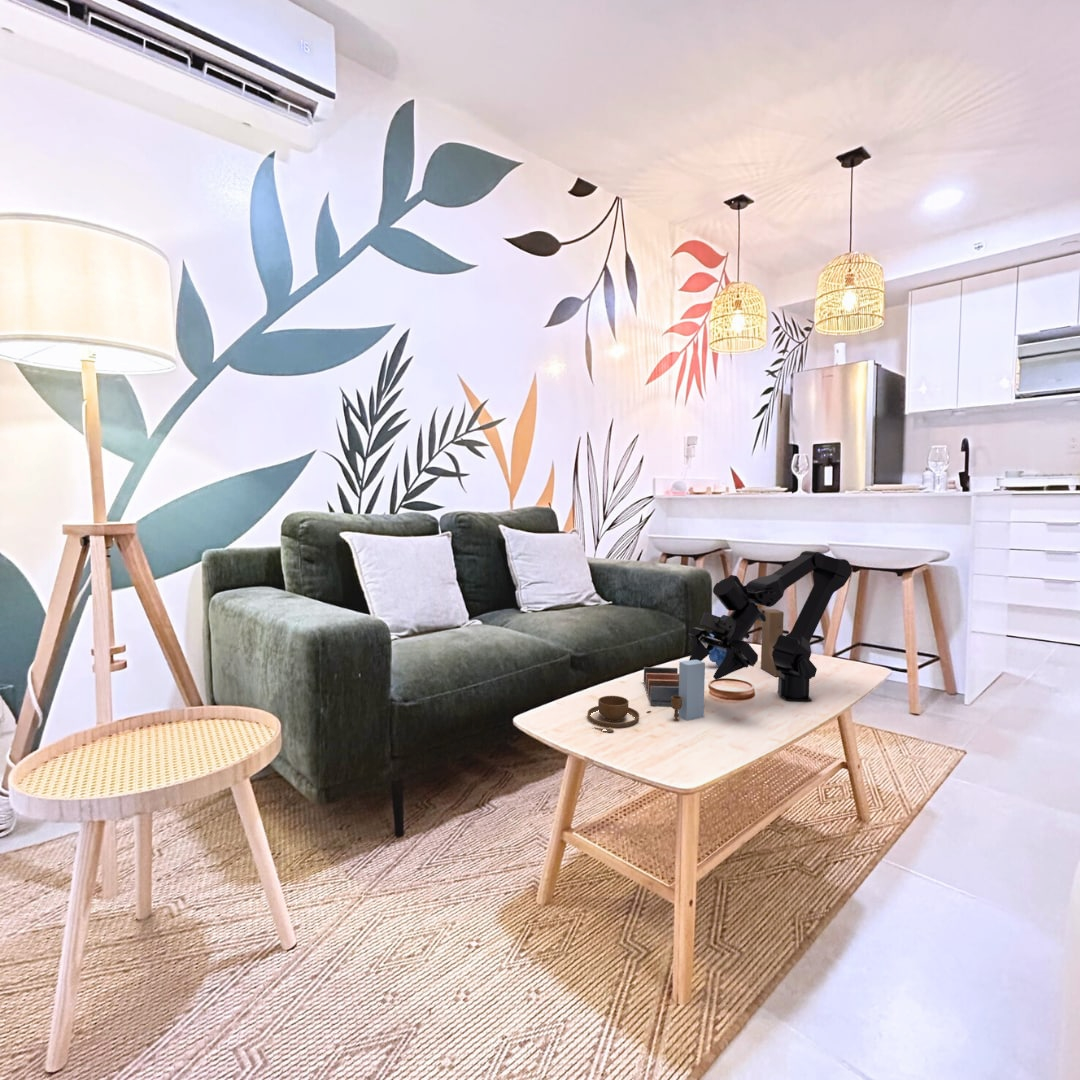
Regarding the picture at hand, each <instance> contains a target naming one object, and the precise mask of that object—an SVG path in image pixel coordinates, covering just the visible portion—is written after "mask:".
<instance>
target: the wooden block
mask: <svg viewBox="0 0 1080 1080" xmlns="http://www.w3.org/2000/svg"><path fill="white" fill-rule="evenodd" d="M763 610H764V611H765V617H766V621H765V622H763V621H761V647H760V651H761V653H760V654H761V655H760V669H761V670H764V671H765V672H767V673H769V674H770V675H772V676H774V677H775V678H779V677H781V671H777V670H776V668H775V664H774V661H773V657H772V652H773V650H774V649H773V648H772V647H773V646H774V645H775V644H776V642H777V639H778V637H779V636H780V635H784V613H785V612H784V611H781V610H779V609H776V608H773V609H771V608H769V609H763Z"/></svg>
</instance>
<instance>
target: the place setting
mask: <svg viewBox="0 0 1080 1080" xmlns="http://www.w3.org/2000/svg"><path fill="white" fill-rule="evenodd" d="M671 706H672V707H671V708H672V709H673V710H674V714H673V716H674V719H673V721H674V722H679V721H680V719H679V715H678V710H679V709H681V707H682V697H680V696H672V697H671ZM598 710H599V715H600V716H602V717H603V718H604V720H605V721H602V720H599V719H596V718H594V717H593V716H592V717H591V716H590V715H591V713H593V712H596V711H598ZM651 712H652V710H647V711H646V714H648V713H649V714H650V713H651ZM627 713H629V714H630V715H629V714H627ZM627 715H629V716H631V715H632V718H634V717H635V718H634V719H632V720H629V721H626V722H625V721H624V722H619V721H621V720H622V719H623V718H625V717H626V716H627ZM587 717H588V719H589V721H590V722H591V723H592V722H593V724H594V723H595V724H594V725H596V724H597V726H599V725H600V726H599V727H595V726H593V727H594V728H595V730H598V729H599V730H598V731H600V730H601V731H600V732H602V730H603V729H606V730H607V731H603V732H602V733H606V732H608V733H609V734H611V733H613V732H614V729H621V728H622V727H623V728H628V727H632V726H634V725H636V724H637V723H638V721H639V720H640V713H639V712H638V711H637V710H636V709H634V708H632V707H630V706H629V700H628V698H626V697H623V696H619V695H605V696H602V697H599V698H598V705H597V706H593V707H591V708H589V709H588V711H587ZM608 721H609V722H608ZM603 726H604V728H603ZM601 727H602V728H601ZM609 727H611V728H612V729H611V728H609Z"/></svg>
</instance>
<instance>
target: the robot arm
mask: <svg viewBox="0 0 1080 1080" xmlns="http://www.w3.org/2000/svg"><path fill="white" fill-rule="evenodd" d="M852 568H853V567H852V565H851V564H850V561H848V559H844V558H838V557H837V558H835V557H833V556H829V555H826V554H824V553H821V552H819V551H813V550H805V551H802V552H801V553H800V554H799V555H798V556H797V557H796V558H794V559H792V560H791V561H789V562H788V563H787V564H785V565H784V566H782V567H781V568H779V569H778V570H776V571H774V572H773V573H772V574H769V575H764V576H760V577H757V578H755V579H753V580H750V581H749V582H747V583H746V585H743V583H742V582H741V580H740V579H739V577H738V576H737V575H733V574H730V575H729V576H728V577H727V578H724V579H721V580H720V581H719V582H717V583H715V585H714V586H713V588H712V592H713V595H715V597H716V598H717V600H719V601H720V603H721V604H722V606H723V607H724V608H725V609H726V610H727V611H731V612H730V613H729V615H726V614H722V615H721V616H717V615H714V614H711V613H708V612H703V615H702V618H701V620H700V623H699V625H700V626H701V627H705V628H707V629H709V632H708V631H707V629H704V628H700V627H692V628H691V630H690V631H688V635H689V636H690V637H689V638H690V639H689V640H691V641H692V649H691V653H690V656H689V659H688V661H690V660H699V661H702V662H703V660H704V659H705V658H707V657H709V654H710V652H709V651H710V650H713V648H714V647H717V648H720V649H723V650H726V657H725V659H724V660H723V662H722V663H721V665H720V666H718V668H717V669H716V670H715V673H714V674H713V679H714V680H716V681H717V680H720V679H722V678H724V677H726V676H727V675H729V674H732V673H734V672H736V671H739V670H741V669H743V668H744V669H745V668H746V669H747V668H749V666H750V667H754V666H755V665H756V664H757V662H758V660H759V655H758V653H757V652H756V651H755V650H754V648H753V647H752V646H751V645H750V643H749V642H746V641H744V640H743V639H747V640H749V638H750V636H751V635H750V634H749V631H750V630H751V629H752V627H753V626H754V625H755V624H756V622H757V621H760V622H762V621H763V622H765V621H766V617H765V611H764V609H760V608H759V607H758V606H763V607H766V608H767V607H768V608H771V607H774V606H775V605H776V604H777V603H778V602H779V601H780V600H781V599H782V598H783V597H784V594H785V591H786V590H788V588H789V587H791V586H792V585H794V584H795V583H797V582H798V581H800V580H801V579H802V578H804V577H806V576H807V575H808V574H810V573H812V582H813V586H812V588H811V590H810V592H809V594H808V596H807V599H806V600H805V601H804V604H803V606H802V608H801V610H800V612H799V614H798V617H797V618H796V621H795V623H794V625H793V627H792V629H791V630H790V632H789V633H787V635H785V634H783V635H780V636H779V637H778V639H777V642H776V644H775V645H774V646H773V647H772V648H773V649H774V650H773V652H772V657H773V661H774V664H775V668H776V670H777V671H781V677H777V678H778V681H777V684H778V685H777V687H778V688H777V694H778V695H779V696H780V697H781V698H782V699H783V700H785V701H789V702H791V701H792V702H793V701H794V702H812V698H811V697H810V680H811V679H812V678H815V677H816V674H817V670H818V669H817V667H816V666H815V664H814V663H813V662H812V661H811V660H810V658H811V656H812V648H811V640H812V638H813V636H814V633H815V632H816V630H817V627H818V625H819V624H820V621H821V620H822V617H823V615H824V613H825V611H826V609H827V607H828V604H829V602H830V600H831V598H832V596H833V595H834V593H835V592H837V591H838V590H840V589H841V588H842V587H844V586H845V585H846V583H847V582H848V580H849V578H850V577H851V575H852V572H853V569H852ZM710 634H712V635H714V638H712V637H711V636H710Z"/></svg>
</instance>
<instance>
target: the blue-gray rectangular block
mask: <svg viewBox="0 0 1080 1080" xmlns="http://www.w3.org/2000/svg"><path fill="white" fill-rule="evenodd" d="M678 663H679V664H678V665H679V667H678V672H679V673H678V674H679V696H680V697H682V707H681V709H679V710H678V715H679V716H678V718H681V719H683V720H685V721H686V722H687V721H691V720H696V719H702V718H705V717H704V716H705V714H704V713H705V679H706V662H704V661H703V660H702V661H699V660H690V661H689V660H683V661H679V662H678Z"/></svg>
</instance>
